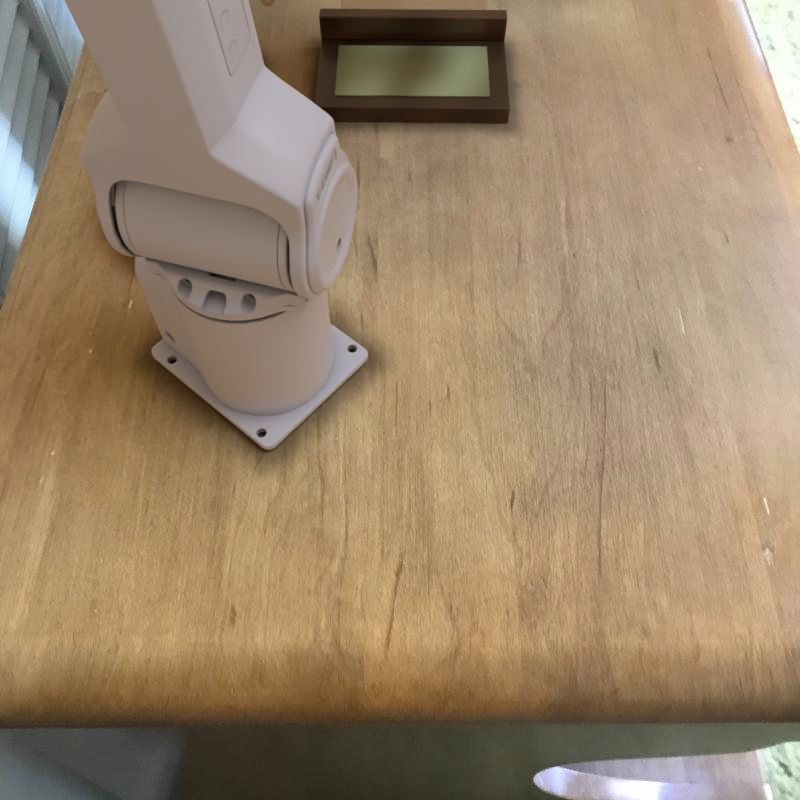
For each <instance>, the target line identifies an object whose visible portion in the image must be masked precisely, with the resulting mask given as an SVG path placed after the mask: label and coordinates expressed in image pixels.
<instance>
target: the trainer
mask: <svg viewBox="0 0 800 800" xmlns="http://www.w3.org/2000/svg"><path fill="white" fill-rule="evenodd" d="M340 1H341V9H446V10H488V8H489V0H340Z"/></svg>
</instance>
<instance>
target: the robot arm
mask: <svg viewBox="0 0 800 800" xmlns="http://www.w3.org/2000/svg"><path fill="white" fill-rule="evenodd" d="M64 3H65V4H66V7H67V8H68V11H69V13H70V15H71V17H72V19H73V21H74V23H75V25H76V27H77V29H78V31H79V33H80V35H81V37H82V40H83V41H84V44H85V45H86V48H87V50H88V51H89V54H90V56H91V58H92V60H93V62H94V64H95V66H96V68H97V70H98V72H99V74H100V77H101V79H102V80H103V82H104V84H105V86H106V89H107V90H106V92H104V94H103V96H102V97H101V99H100V100H99V102H98V103H97V105H96V107H95V109H94V112H93V113H92V116H91V118H90V119H89V122H88V125H87V127H86V131H85V134H84V138H83V141H82V145H81V149H80V152H79V155H78V156H79V157H78V159H79V161H80V162H81V164H82V166H83V168H84V169H85V171H86V174H87V175H88V177H89V179H90V181H91V183H92V186H93V190H94V202H95V209H96V214H97V218H98V221H99V223H100V225H101V229H102V231H103V234H104V236H105V239H106V241H107V242H108V243H109V245H110V246H111V248H112V249H114V250H115V251H116V252H117V253H119V254H121V255H123V256H126V257H130V258H134V273H135V277H136V280H137V282H138V284H139V288H140V289H141V291H142V294H143V297H144V298H145V301H146V303H147V306H148V308H149V310H150V312H151V315H152V318H153V319H154V321H155V324H156V326H157V329H158V331H159V333H160V336H161V339H160V340H159V341H158V342H156V343H155V344H154V345H153V346H152V347H151V351H150V352H151V355H152V357H153V358H154V360H155V361H157V362H158V364H160V365H161V366H162V367H164V368H165V369H166V370H167V371H168V372H170V373H171V374H172V375H173V376H174V377H176V378H177V379H178V380H179V381H181V382H182V383H183V384H184V385H186V386H187V387H188V388H189V389H190V390H192V391H193V392H194V393H195V394H197V396H199V397H201V399H203V400H204V401H205V402H206V403H207V404H209V405H210V406H211V407H212V408H214V409H215V410H216V411H217V412H218V413H219V414H221V415H222V416H223V417H224V418H226V419H227V421H229V422H230V423H231V424H232V425H234V426H235V427H236V428H238V429H239V431H241V432H243V433H244V434H245V435H246V436H247V437H248V438H249V439H251V440H252V441H254V443H256V444H257V445H258V446H259V447H260V448H261V449H263V450H266V451H270V450H274V449H275V448H276V447H278V446H279V445H280V444H281V443H282V442H283V441H284V440H285V439H287V437H288V436H290V434H291V433H292V432H294V431H295V430H296V429H297V428H298V427H299V426H300V425H301V424H302V423H303V422H304V421H305V420H306V419H307V418H309V417H310V415H312V414H313V412H314V411H316V410H317V409H318V408H319V407H320V406H321V405H322V404H323V403H325V402H326V400H327V399H329V398H330V397H331V396H332V395H333V393H335V392H336V391H337V390H338V389H339V388H340V387H341V386H342V385H343V384H344V383H345V382H346V381H348V379H349V378H351V377H352V376H353V375H354V374H355V373H356V372H357V371H358V370H359V369H360V368H362V366H363V365H364V364H365V363H366V362H367V361H368V359H369V352H368V350H367V349H366V347H364V346H362V345H361V344H360V343H359V342H357V341H356V340H354V339H353V338H352V337H350V336H349V335H347V334H346V333H345V332H343V331H342V330H341V329H339V328H338V327H336V326H335V325H333V324H332V323H331V317H330V309H329V301H328V293H327V292H328V291H327V290H328V289H330V288H331V287H332V286H334V284H335V282H336V281H337V280H338V278H339V276H340V274H341V272H342V270H343V268H344V265H345V262H346V259H347V256H348V254H349V250H350V247H351V243H352V238H353V235H354V230H355V225H356V217H357V209H358V194H359V193H358V190H359V189H358V179H357V173H356V171H355V169H354V167H353V165H352V164H351V161H350V158H349V157H348V155H347V153H346V152H345V151H344V150H343V148H342V147H341V145H340V142H339V141H340V140H339V138H338V137H337V131H336V126H335V121H334V120H333V118H332V117H331V116H330V115H329V114H328V113H326V112H325V111H324V110H323V109H321V108H320V107H319V106H317V105H316V104H315V102H314V101H312V100H311V99H310V98H308V97H307V96H306V95H304V94H303V93H301V92H300V91H298V90H297V89H295V88H294V87H293V86H292V85H290V84H289V83H287V82H286V81H284V80H283V79H281V77H279V76H278V75H276V74H275V73H274V72H273V71H271V70H270V69H269V68H268V67H267V66H266V65H265V61H264V58H263V54H262V50H261V46H260V41H259V37H258V33H257V29H256V26H255V25H256V24H255V21H254V17H253V13H252V8H251V5H250V1H249V0H64ZM350 350H355V351H353V352H351V351H350ZM174 360H175V362H172V363H171V361H174ZM261 433H265V435H264V436H259V434H261Z"/></svg>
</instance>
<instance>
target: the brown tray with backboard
mask: <svg viewBox="0 0 800 800" xmlns="http://www.w3.org/2000/svg"><path fill="white" fill-rule="evenodd" d="M507 11H508V10H507V9H350V8H319V15H318V19H319V20H318V21H319V31H320V49H319V58H318V70H317V79H316V91H315V99H314V100H315V101H314V103H315V104H316V105H317V106H319V107H320V108H321V109H323V110H324V111H325V112H326V113H328V114H329V115H330V116H331V117H332V118H333V120H334V122H386V123H387V122H389V123H391V122H392V123H394V122H395V123H398V122H400V123H493V124H494V123H497V124H499V123H500V124H501V123H502V124H503V123H505V124H507V123H509V119H510V111H511V105H510V104H511V103H510V93H509V92H510V91H509V80H508V67H507V55H506V43H505V42H506V41H505V40H506V34H507V33H506V32H507V25H508V12H507Z"/></svg>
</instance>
